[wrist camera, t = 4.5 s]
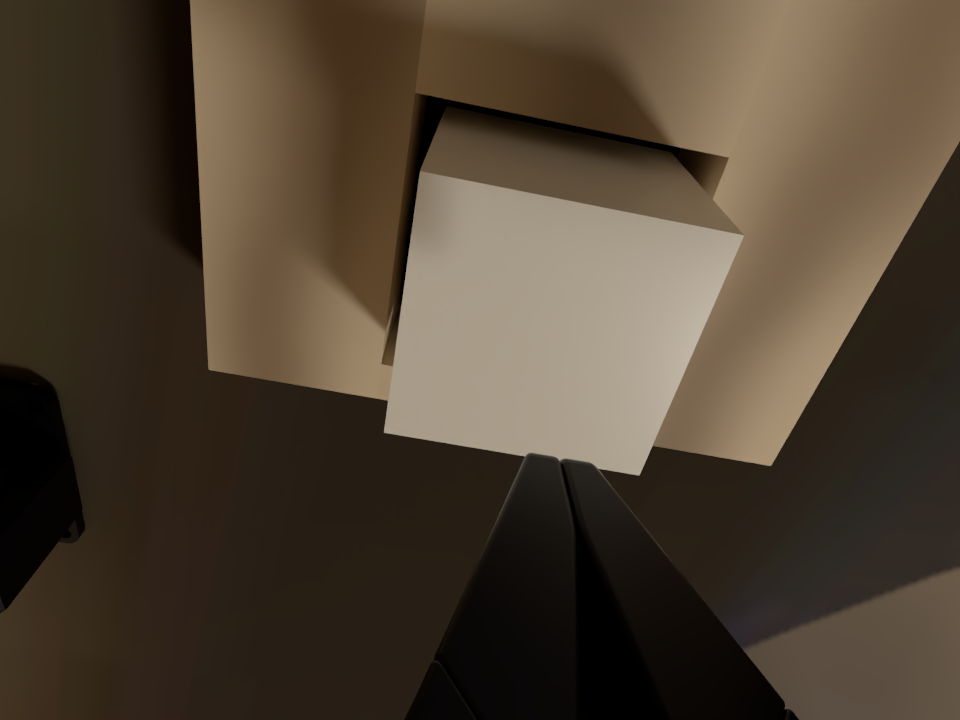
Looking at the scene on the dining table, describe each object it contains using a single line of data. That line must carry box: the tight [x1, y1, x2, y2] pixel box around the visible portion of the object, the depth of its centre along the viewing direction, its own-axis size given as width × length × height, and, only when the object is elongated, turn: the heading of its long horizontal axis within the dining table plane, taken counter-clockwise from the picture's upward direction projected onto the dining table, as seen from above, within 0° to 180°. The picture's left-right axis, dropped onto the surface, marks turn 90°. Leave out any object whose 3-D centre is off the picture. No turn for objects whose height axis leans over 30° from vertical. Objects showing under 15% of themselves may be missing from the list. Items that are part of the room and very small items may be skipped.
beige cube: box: [384, 106, 744, 475], centre depth 13 cm, size 5×5×5 cm
